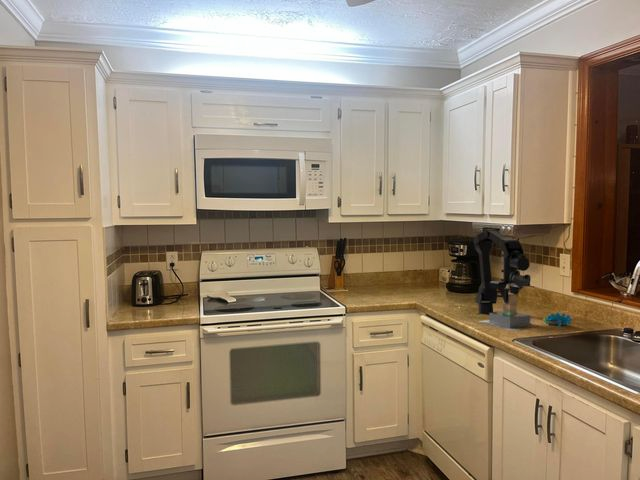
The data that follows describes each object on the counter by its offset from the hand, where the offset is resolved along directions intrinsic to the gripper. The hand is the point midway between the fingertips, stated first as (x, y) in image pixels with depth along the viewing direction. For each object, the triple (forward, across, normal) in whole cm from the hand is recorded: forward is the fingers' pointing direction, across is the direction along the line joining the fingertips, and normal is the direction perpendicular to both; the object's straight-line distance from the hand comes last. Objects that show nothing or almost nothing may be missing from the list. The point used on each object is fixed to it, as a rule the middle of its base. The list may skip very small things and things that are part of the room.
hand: (509, 302), depth 213 cm
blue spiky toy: (+11, +16, -11) cm, 23 cm away
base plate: (+11, 0, 0) cm, 11 cm away
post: (+6, 0, 0) cm, 6 cm away
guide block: (+10, 0, 0) cm, 10 cm away
